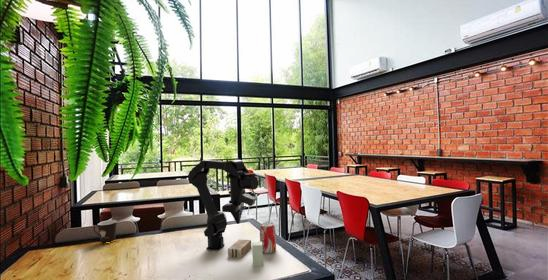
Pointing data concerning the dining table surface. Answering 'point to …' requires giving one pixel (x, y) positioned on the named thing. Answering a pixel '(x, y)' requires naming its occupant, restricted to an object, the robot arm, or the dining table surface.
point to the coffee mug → (106, 231)
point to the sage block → (257, 253)
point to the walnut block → (239, 248)
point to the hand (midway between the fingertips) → (238, 223)
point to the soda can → (268, 237)
